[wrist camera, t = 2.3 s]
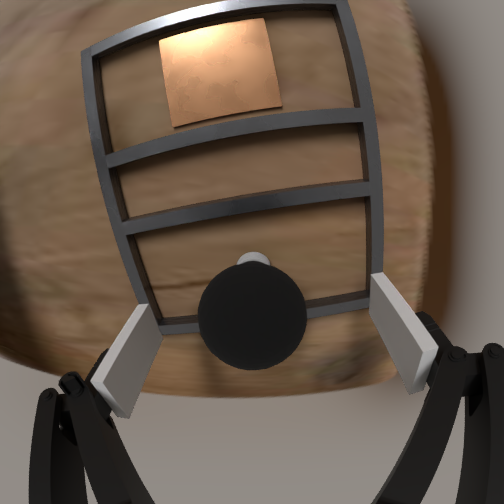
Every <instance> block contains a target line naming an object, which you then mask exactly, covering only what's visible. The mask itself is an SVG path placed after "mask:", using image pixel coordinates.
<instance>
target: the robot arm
mask: <svg viewBox="0 0 504 504" xmlns="http://www.w3.org/2000/svg"><path fill="white" fill-rule="evenodd" d="M369 315H370V317H371V319H372V321H373V322H374V324H375V326H376V328H377V330H378V332H379V334H380V336H381V338H382V340H383V342H384V344H385V346H386V348H387V350H388V352H389V354H390V356H391V358H392V360H393V362H394V364H395V366H396V368H397V370H398V372H399V374H400V376H401V378H402V381H403V383H404V385H405V387H406V389H407V392H408V394H409V395H410V394H413V393H416V392H419V391H422V390H424V387H425V384H426V382H427V384H428V386H429V387H430V389H429V391H428V394H427V396H426V398H425V400H424V405H423V407H422V410H421V412H420V414H419V417H418V419H417V421H416V424H415V426H414V429H413V431H412V433H411V435H410V437H409V439H408V441H407V443H406V445H405V447H404V449H403V451H402V453H401V455H400V457H399V459H398V461H397V462H396V464H395V466H394V468H393V470H392V471H391V473H390V475H389V477H388V478H387V480H386V482H385V483H384V485H383V486H382V488H381V490H380V491H379V493H378V494H377V496H376V497H375V499H374V500H373V502H372V503H371V504H420V503H421V501H422V499H423V497H424V496H425V494H426V492H427V490H428V487H429V485H430V483H431V481H432V479H433V477H434V475H435V472H436V470H437V468H438V466H439V463H440V461H441V458H442V456H443V453H444V451H445V448H446V445H447V443H448V440H449V437H450V434H451V431H452V428H453V425H454V421H455V418H456V415H457V411H458V408H459V404H460V400H461V397H464V396H465V432H464V449H463V459H462V468H461V475H460V482H459V488H458V493H457V498H456V503H455V504H504V348H503V347H502V346H501V345H499V344H496V343H489V344H487V345H485V346H484V348H483V350H482V352H481V353H467V351H465V350H464V349H463V348H460V347H458V346H453V345H452V344H451V342H450V341H449V340H448V338H447V337H446V336H445V334H444V333H443V332H442V331H441V329H439V326H438V325H437V324H436V323H435V321H434V320H433V318H432V317H431V316H430V315H428V314H427V313H425V312H423V311H421V312H418V313H414V312H413V310H412V309H411V308H410V306H409V305H408V304H407V302H406V301H405V300H404V298H403V297H402V296H401V294H400V293H399V292H398V291H397V289H396V288H395V287H394V286H393V284H392V283H391V282H390V280H389V279H388V278H387V277H386V276H385V274H384V273H383V272H381V273H376V274H371V284H370V304H369ZM162 340H163V337H162V335H161V332H160V330H159V328H158V325H157V323H156V321H155V318H154V316H153V313H152V311H151V308H150V306H149V304H139V305H138V306H137V307H136V309H135V310H134V312H133V313H132V315H131V316H130V318H129V319H128V321H127V322H126V324H125V325H124V327H123V328H122V330H121V332H120V333H119V335H118V336H117V338H116V339H115V341H114V343H113V344H112V346H111V347H110V349H108V348H107V349H106V350H105V351H104V352H103V353H102V354H101V355H100V356H99V358H98V360H97V362H96V363H95V364H94V367H93V368H92V369H91V371H90V372H89V374H88V376H87V377H86V379H85V381H83V379H82V378H81V376H80V375H79V374H78V373H77V372H68V373H66V374H65V375H63V376H62V377H61V379H60V381H59V386H60V388H61V389H62V390H63V392H64V393H65V394H58V392H57V391H56V390H55V389H54V388H48V389H46V390H44V391H43V392H42V393H41V395H40V396H39V400H38V405H37V411H36V416H35V422H34V428H33V436H32V444H31V454H30V468H29V504H88V501H87V493H86V485H85V473H84V467H85V470H86V473H87V476H88V479H89V482H90V484H91V487H92V490H93V492H94V495H95V497H96V500H97V502H98V504H155V503H154V501H153V500H152V498H151V496H150V494H149V493H148V491H147V489H146V488H145V486H144V484H143V482H142V481H141V479H140V477H139V475H138V473H137V471H136V469H135V467H134V465H133V463H132V462H131V460H130V457H129V455H128V453H127V451H126V449H125V447H124V445H123V442H122V440H121V438H120V436H119V433H118V431H117V429H116V426H115V424H114V422H113V419H112V418H111V416H110V413H111V411H113V412H114V413H115V415H116V416H117V417H121V418H128V419H129V418H130V416H131V413H132V411H133V408H134V405H135V403H136V401H137V399H138V396H139V394H140V391H141V389H142V386H143V384H144V382H145V379H146V377H147V375H148V372H149V370H150V368H151V365H152V363H153V361H154V358H155V356H156V354H157V351H158V349H159V347H160V345H161V342H162ZM59 425H60V427H59Z"/></svg>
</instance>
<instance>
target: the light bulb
mask: <svg viewBox="0 0 504 504" xmlns="http://www.w3.org/2000/svg"><path fill="white" fill-rule="evenodd" d="M306 323H307V310H306V304H305V300H304V297H303V295H302V293H301V291H300V290H299V288H298V286H297V285H296V283H295V282H294V281H293V280H292V279H291V278H290V277H289V276H288V275H287V274H286V273H284V272H283V271H281V270H279V269H277V268H276V267H273V266H270V262H269V260H268V258H267V257H266V256H265V255H263V254H261V253H259V252H249V253H246V254H244V255H243V256H241V258H240V259H239V260H238V262H237V265H234V266H231V267H229V268H227V269H225V270H224V271H222V272H221V273H219V274H218V275H217V276H215V277H214V278H213V279H212V280H211V282H210V283H209V285H208V286H207V287H206V289H205V290H204V292H203V294H202V297H201V300H200V303H199V307H198V324H199V330H200V333H201V336H202V338H203V340H204V342H205V344H206V345H207V347H208V348H209V350H210V351H211V352H212V353H213V354H214V355H215V356H216V357H218V358H219V359H220V360H222V361H223V362H225V363H226V364H228V365H230V366H233V367H235V368H238V369H244V370H261V369H267V368H269V367H272V366H274V365H277V364H279V363H280V362H282V361H284V360H285V359H286V358H287V357H289V356H290V355H291V354H292V353H293V352H294V350H295V349H296V348H297V346H298V345H299V343H300V341H301V340H302V337H303V335H304V332H305V328H306Z"/></svg>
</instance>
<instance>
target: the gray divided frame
mask: <svg viewBox="0 0 504 504" xmlns="http://www.w3.org/2000/svg"><path fill="white" fill-rule="evenodd" d="M291 10H332V12H333V16H334V19H335V22H336V26H337V30H338V33H339V37H340V41H341V45H342V48H343V53H344V57H345V61H346V65H347V70H348V75H349V80H350V85H351V90H352V95H353V101H354V107H355V108H338V109H322V110H309V111H299V112H289V113H281V114H273V115H266V116H259V117H253V118H247V119H241V120H235V121H230V122H225V123H220V124H215V125H210V126H206V127H201V128H197V129H192V130H188V131H184V132H180V133H176V134H173V135H169V136H165V137H162V138H158V139H155V140H151V141H148V142H145V143H141V144H138V145H135V146H132V147H129V148H126V149H123V150H120V151H117V152H114V153H112V148H111V142H110V137H109V132H108V126H107V120H106V113H105V107H104V100H103V92H102V84H101V74H100V64H99V59H101V58H103V57H105V56H107V55H109V54H111V53H114V52H116V51H118V50H121V49H123V48H125V47H128V46H130V45H133V44H136V43H138V42H141V41H143V40H146V39H149V38H152V37H155V36H158V35H161V34H164V33H167V32H170V31H174V30H177V29H181V28H184V27H188V26H192V25H196V24H200V23H204V22H209V21H213V20H218V19H223V18H229V17H235V16H241V15H248V14H256V13H265V12H275V11H291ZM159 46H160V53H161V60H162V67H163V73H164V80H165V86H166V92H167V98H168V104H169V109H170V115H171V121H172V126H173V127H177V126H181V125H185V124H189V123H193V122H197V121H201V120H206V119H210V118H215V117H220V116H225V115H230V114H236V113H241V112H247V111H253V110H260V109H267V108H274V107H282V102H281V97H280V92H279V86H278V81H277V76H276V71H275V66H274V62H273V57H272V52H271V48H270V43H269V39H268V34H267V30H266V26H265V21H264V18H258V19H250V20H243V21H237V22H231V23H225V24H220V25H215V26H210V27H206V28H202V29H197V30H193V31H189V32H186V33H182V34H178V35H175V36H172V37H168V38H165V39H162V40H159ZM81 65H82V78H83V88H84V97H85V106H86V113H87V120H88V126H89V132H90V138H91V143H92V149H93V154H94V159H95V163H96V168H97V173H98V177H99V181H100V185H101V189H102V193H103V197H104V201H105V205H106V208H107V212H108V216H109V219H110V222H111V226H112V229H113V232H114V236H115V239H116V242H117V245H118V248H119V251H120V254H121V257H122V260H123V263H124V266H125V268H126V271H127V274H128V277H129V279H130V282H131V285H132V287H133V290H134V292H135V295H136V298H137V300H138V302H139V304H149V306H150V308H151V311H152V313H153V316H154V318H155V321H156V323H157V325H158V328H159V330H160V332H161V335H167V334H182V333H195V332H200V330H199V324H198V315H190V316H180V317H168V318H162V316H161V313H160V311H159V308H158V306H157V303H156V300H155V298H154V295H153V292H152V290H151V287H150V284H149V281H148V279H147V276H146V273H145V270H144V267H143V264H142V261H141V258H140V255H139V252H138V249H137V245H136V242H135V239H134V236H133V234H134V233H138V232H143V231H148V230H153V229H158V228H163V227H168V226H174V225H179V224H184V223H189V222H195V221H200V220H206V219H212V218H217V217H223V216H229V215H235V214H241V213H247V212H253V211H260V210H266V209H272V208H279V207H286V206H293V205H300V204H307V203H314V202H322V201H329V200H337V199H345V198H353V197H362V196H365V212H366V290H363V291H358V292H353V293H347V294H342V295H336V296H331V297H325V298H319V299H313V300H307V301H305V304H306V310H307V319H309V318H315V317H321V316H327V315H332V314H338V313H343V312H348V311H354V310H359V309H363V308H368V307H369V304H370V284H371V274H376V273H381V272H383V246H384V218H383V189H382V173H381V161H380V150H379V141H378V133H377V125H376V118H375V111H374V105H373V99H372V94H371V88H370V83H369V78H368V73H367V69H366V64H365V60H364V56H363V52H362V48H361V44H360V40H359V36H358V33H357V29H356V26H355V23H354V19H353V16H352V13H351V10H350V7H349V4H348V1H347V0H227V1H221V2H216V3H211V4H207V5H202V6H198V7H194V8H190V9H186V10H182V11H179V12H175V13H172V14H169V15H165V16H162V17H159V18H156V19H153V20H150V21H148V22H145V23H142V24H140V25H137V26H134V27H132V28H129V29H127V30H125V31H122V32H120V33H118V34H115V35H113V36H111V37H109V38H107V39H104V40H102V41H100V42H98V43H96V44H94V45H92V46H90V47H88V48H86V49H85V50H83V51H81ZM339 123H357V126H358V133H359V141H360V149H361V158H362V169H363V179H359V180H349V181H340V182H331V183H323V184H315V185H307V186H300V187H292V188H285V189H278V190H272V191H265V192H259V193H253V194H246V195H240V196H235V197H229V198H223V199H218V200H212V201H207V202H202V203H196V204H191V205H186V206H181V207H177V208H172V209H167V210H162V211H158V212H153V213H149V214H144V215H140V216H136V217H131V218H128V215H127V211H126V208H125V204H124V200H123V196H122V192H121V188H120V184H119V180H118V176H117V171H116V166H119V165H122V164H125V163H128V162H132V161H135V160H138V159H142V158H145V157H148V156H152V155H156V154H159V153H163V152H167V151H171V150H174V149H178V148H182V147H187V146H191V145H195V144H200V143H204V142H209V141H214V140H218V139H224V138H229V137H234V136H240V135H245V134H251V133H258V132H264V131H271V130H278V129H286V128H294V127H304V126H314V125H325V124H339Z"/></svg>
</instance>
